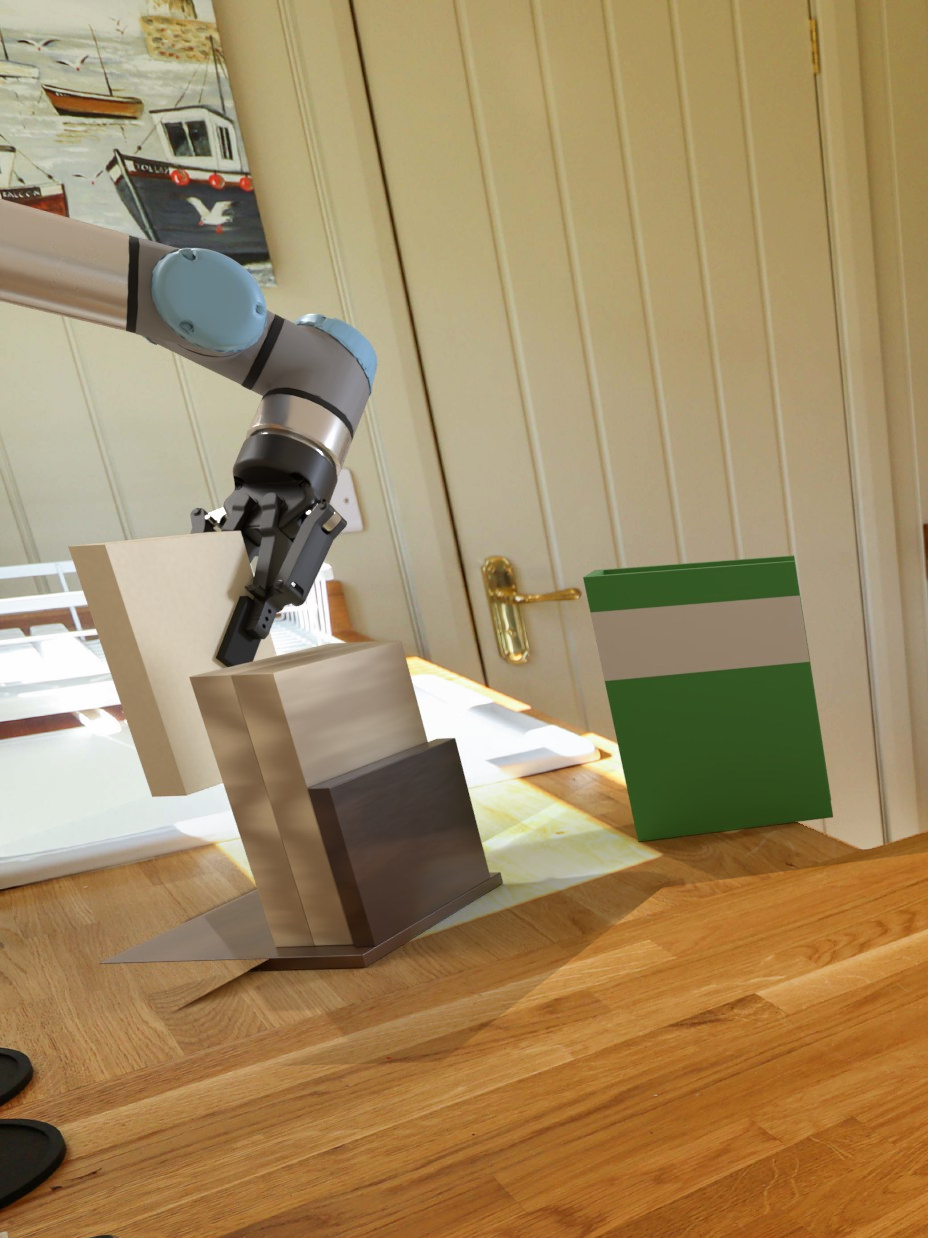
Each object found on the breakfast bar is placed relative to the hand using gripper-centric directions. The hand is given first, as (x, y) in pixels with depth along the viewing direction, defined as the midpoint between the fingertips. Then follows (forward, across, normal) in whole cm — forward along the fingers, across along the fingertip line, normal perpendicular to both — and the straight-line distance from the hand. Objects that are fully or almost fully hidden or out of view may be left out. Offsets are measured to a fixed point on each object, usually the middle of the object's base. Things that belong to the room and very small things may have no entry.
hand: (211, 667), depth 108 cm
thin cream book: (+7, 0, -6) cm, 9 cm away
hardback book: (+5, -39, -21) cm, 44 cm away
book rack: (+23, -15, -3) cm, 28 cm away
